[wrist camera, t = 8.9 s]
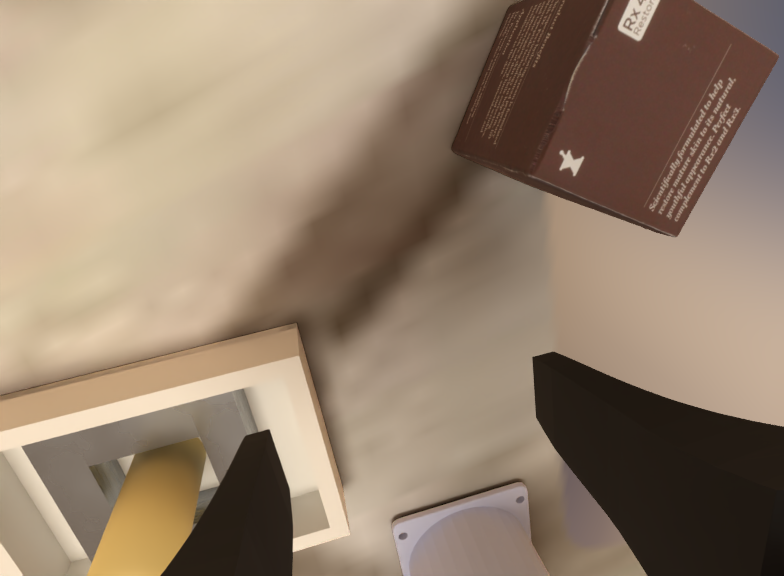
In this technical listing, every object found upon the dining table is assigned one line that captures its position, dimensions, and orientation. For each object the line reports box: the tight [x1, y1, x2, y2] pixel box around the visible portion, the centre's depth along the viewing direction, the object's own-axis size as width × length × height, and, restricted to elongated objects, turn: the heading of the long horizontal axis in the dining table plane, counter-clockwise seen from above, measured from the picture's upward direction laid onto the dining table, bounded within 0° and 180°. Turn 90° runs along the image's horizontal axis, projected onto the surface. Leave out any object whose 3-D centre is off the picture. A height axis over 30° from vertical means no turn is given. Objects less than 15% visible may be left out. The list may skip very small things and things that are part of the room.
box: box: [452, 0, 779, 237], centre depth 18 cm, size 6×6×7 cm
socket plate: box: [21, 388, 258, 563], centre depth 22 cm, size 8×8×2 cm
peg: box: [87, 437, 206, 576], centre depth 19 cm, size 3×3×7 cm
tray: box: [0, 323, 350, 576], centre depth 22 cm, size 10×14×3 cm
